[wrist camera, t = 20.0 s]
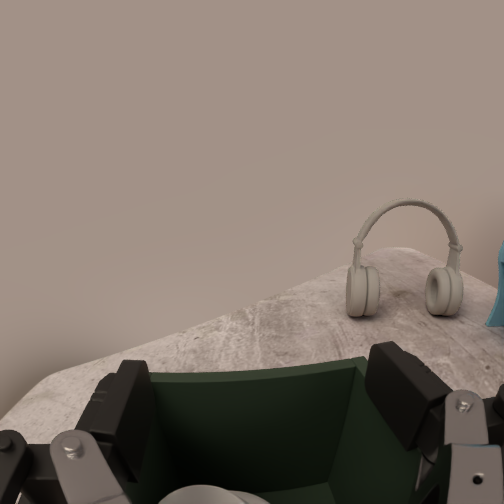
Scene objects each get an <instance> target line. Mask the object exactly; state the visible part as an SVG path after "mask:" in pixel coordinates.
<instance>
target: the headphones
mask: <svg viewBox="0 0 504 504" xmlns="http://www.w3.org/2000/svg"><path fill="white" fill-rule="evenodd" d="M407 205H413V206H419V207H423V208H426V209H428V210H430V211H431V212H432V213H434V214H435V215H436V216H437V217H438V218H439V220H440V221H441V222H442V224H443V226H444V227H445V229H446V232H447V234H448V237H449V240H450V242H449V247H450V251H449V256H448V262H447V265H446V267H444V268H434V269H432V270H431V271H430V273H429V275H428V278H427V282H426V289H425V298H426V304H427V308H428V310H429V312H430V313H431V314H434V315H440V314H442V315H446V316H449V315H453V314H455V313H456V312H457V310H458V309H459V308H460V306H461V303H462V299H463V280H462V277H461V274H460V272H459V269H460V252H461V251H462V249H463V247H462V246H461V245H460V244H459V240H458V237H457V234H456V231H455V229H454V227H453V225H452V223H451V221H450V220H449V219H448V217H447V216H446V215H445V214H444V212H442V211H441V210H440V209H439V208H438V207H436V206H434V205H433V204H431V203H429V202H426V201H423V200H418V199H410V198H405V199H397V200H393V201H390V202H388V203H386V204H384V205H383V206H381V207H379V208H378V209H377V210H376V211H375V212H373V213H372V214H371V216H370V217H369V218H368V219H367V221H366V222H365V223H364V225H363V227H362V228H361V230H360V232H359V234H358V236H357V238H354V239H353V244H354V245H355V247H354V259H353V265H352V266H351V267H350V268H349V269H348V274H347V283H346V311H347V314H349V316H354V317H358V316H362V315H367V316H369V315H374V314H375V313H376V311H377V308H378V304H379V298H380V278H379V273H378V270H377V269H376V268H375V267H371V266H367V267H364V266H362V265H361V248H362V247H363V243H362V241H363V239H364V238H365V237H366V236H367V234H368V232H369V231H370V229H371V227H372V226H373V225H374V224H375V222H376V221H377V220H378V219H379V218H380V217H381V216H382V215H383V214H384V213H386V212H387V211H389V210H391V209H393V208H395V207H398V206H407Z"/></svg>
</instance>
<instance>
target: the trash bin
mask: <svg viewBox="0 0 504 504" xmlns="http://www.w3.org/2000/svg"><path fill="white" fill-rule="evenodd" d="M367 364H368V361H367V359H366V358H365V357H364V356H361V357H356V358H351V359H344V360H338V361H331V362H324V363H317V364H309V365H301V366H293V367H283V368H273V369H261V370H248V371H231V372H203V373H158V372H153V373H152V372H149V375H150V379H151V384H152V388H153V392H154V396H155V413H154V417H153V422H152V426H151V430H150V434H149V439H148V443H147V447H146V452H145V457H144V461H143V466H142V471H141V475H140V480H139V483H132V482H127V484H126V489H125V492H126V494H127V496H128V497H129V499H130V500H131V502H132V503H133V504H158V503H159V502H160V501H161V500H162V499H163V498H165V497H166V496H167V495H168V494H170V493H172V492H174V491H176V490H178V489H181V488H184V487H187V486H193V485H210V486H216V487H220V488H223V489H225V490H228V491H241V492H246V493H250V494H253V495H256V496H258V497H260V498H262V499H264V500H266V501H267V502H269V503H270V504H407V503H408V500H409V498H410V494H411V490H412V486H413V481H414V476H415V471H416V466H417V460H418V456H419V454H420V452H421V450H420V448H419V447H418V448H416V449H413V450H411V451H408V452H406V451H405V449H404V448H403V446H402V445H401V443H400V442H399V440H398V439H397V437H396V436H395V434H394V433H393V432H392V430H391V429H390V427H389V426H388V424H387V423H386V421H385V420H384V418H383V417H382V415H381V414H380V412H379V411H378V410H377V408H376V407H375V405H374V404H373V402H372V401H371V399H370V398H369V396H368V395H367V393H366V391H365V386H364V379H365V374H366V369H367Z"/></svg>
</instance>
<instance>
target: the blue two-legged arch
mask: <svg viewBox="0 0 504 504" xmlns="http://www.w3.org/2000/svg"><path fill="white" fill-rule="evenodd" d="M498 265H499V284H498V293H497V297H496V301H495V304H494V307H493V309H492V312H491V314H490V316H489V318H488V320H487V322H486V325H487V326H504V241H503V244H502V246H501V248H500V251H499V256H498Z"/></svg>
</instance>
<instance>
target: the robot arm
mask: <svg viewBox="0 0 504 504" xmlns="http://www.w3.org/2000/svg"><path fill="white" fill-rule="evenodd" d="M364 386H365V391H366V393H367V395H368V396H369V398H370V399H371V401H372V402H373V404H374V405H375V407H376V408H377V410H378V411H379V412H380V414H381V415H382V417H383V418H384V420H385V421H386V423H387V424H388V426H389V427H390V429H391V430H392V432H393V433H394V434H395V436H396V437H397V439H398V440H399V442H400V443H401V445H402V446H403V448H404V449H405V451H406V452H408V451H411V450H413V449H416V448H418V447H419V448H420V450H421V452H420V454H419V456H418V460H417V466H416V471H415V476H414V481H413V486H412V490H411V494H410V498H409V500H408V503H407V504H504V384H502V385H501V386H500V388H499V390H498V392H497V395H496V397H491V398H486V399H481V398H480V397H479V396H478V395H477V394H476V393H474V392H471V391H468V390H456V391H453V390H452V389H451V388H450V387H448V386H447V385H446V384H445V383H444V382H443V381H442V380H441V379H440V378H439V377H438V376H437V375H436V374H435V373H434V372H433V371H432V372H431V370H430V369H429V368H428V367H427V366H425V365H424V363H423V362H422V361H421V360H420V359H419V358H417V357H416V356H414V355H412V354H410V353H408V352H406V351H403V350H402V349H401V348H400V347H399V346H398V345H397V344H396V343H394V342H393V341H389V342H384V343H379V344H374V345H372V347H371V349H370V354H369V359H368V364H367V369H366V374H365V379H364ZM154 413H155V396H154V392H153V388H152V384H151V379H150V375H149V371H148V366H147V363H146V361H144V360H123V361H122V363H121V365H120V367H119V369H118V371H117V373H109V374H108V375H107V376H105V377H104V378H103V379H102V380H100V382H99V383H98V385H97V387H96V389H95V393H93V394H92V396H91V398H90V401H89V402H88V404H87V406H86V408H85V410H84V411H83V413H82V415H81V417H80V419H79V421H78V423H77V425H76V427H75V429H74V430H68V431H65V432H62V433H60V434H59V435H57V436H56V437H55V438H54V439H53V440H52V442H51V444H27V442H26V441H25V439H24V437H23V436H22V435H21V434H20V433H19V432H17V431H14V430H2V431H0V504H15V503H16V500H17V498H18V495H19V493H20V492H21V493H22V495H21V497H20V499H19V502H18V504H133V503H132V502H131V500H130V499H129V497H128V496H127V494H126V492H125V489H126V484H127V482H132V483H139V480H140V475H141V471H142V466H143V461H144V457H145V452H146V447H147V443H148V439H149V434H150V430H151V426H152V422H153V417H154Z"/></svg>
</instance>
